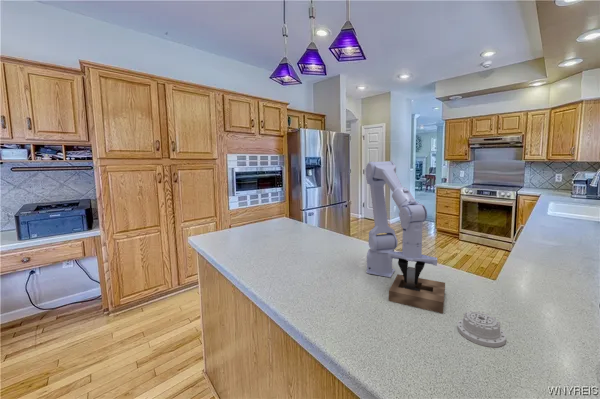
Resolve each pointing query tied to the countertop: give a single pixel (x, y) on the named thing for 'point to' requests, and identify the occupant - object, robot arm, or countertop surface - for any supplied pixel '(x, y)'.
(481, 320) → the mechanical component
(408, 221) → the robot arm
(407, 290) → the keyhole plate
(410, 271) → the footed peg
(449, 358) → the countertop surface
